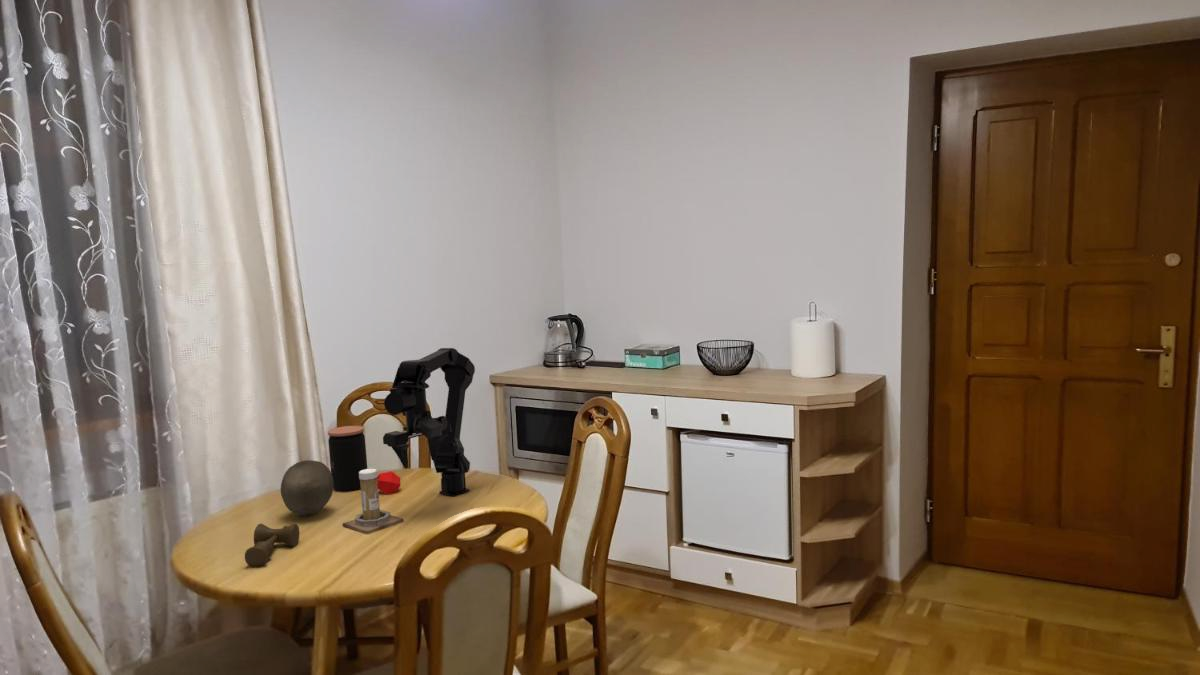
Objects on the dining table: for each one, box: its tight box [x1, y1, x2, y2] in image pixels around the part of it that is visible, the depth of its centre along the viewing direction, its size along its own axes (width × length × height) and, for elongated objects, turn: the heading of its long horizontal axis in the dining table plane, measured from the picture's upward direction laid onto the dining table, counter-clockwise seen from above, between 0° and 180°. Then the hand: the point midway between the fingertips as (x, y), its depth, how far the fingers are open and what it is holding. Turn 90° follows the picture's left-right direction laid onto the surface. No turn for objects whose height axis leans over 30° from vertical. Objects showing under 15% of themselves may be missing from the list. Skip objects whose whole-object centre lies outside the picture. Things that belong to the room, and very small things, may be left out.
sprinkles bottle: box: [359, 468, 381, 520], centre depth 207 cm, size 5×5×14 cm
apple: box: [377, 471, 401, 495], centre depth 236 cm, size 7×7×8 cm
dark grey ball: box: [280, 459, 334, 517], centre depth 217 cm, size 14×14×15 cm
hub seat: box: [342, 510, 405, 535], centre depth 207 cm, size 11×11×2 cm
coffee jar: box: [327, 425, 368, 493], centre depth 242 cm, size 11×11×18 cm
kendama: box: [244, 522, 300, 568], centre depth 191 cm, size 6×10×20 cm
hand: (420, 464), depth 215 cm, fingers open, 9 cm apart
